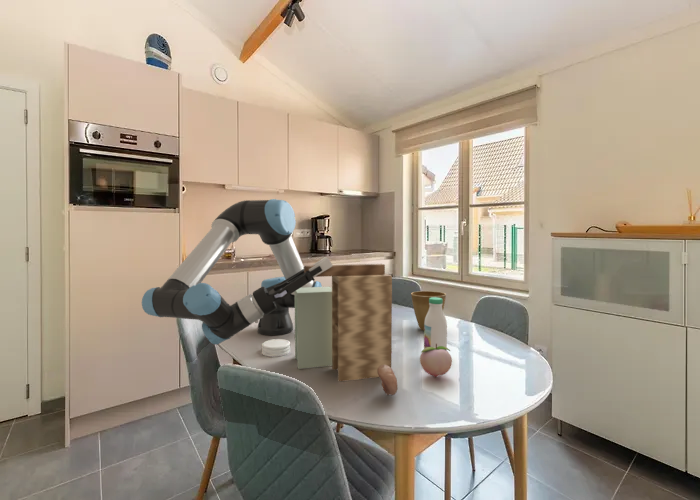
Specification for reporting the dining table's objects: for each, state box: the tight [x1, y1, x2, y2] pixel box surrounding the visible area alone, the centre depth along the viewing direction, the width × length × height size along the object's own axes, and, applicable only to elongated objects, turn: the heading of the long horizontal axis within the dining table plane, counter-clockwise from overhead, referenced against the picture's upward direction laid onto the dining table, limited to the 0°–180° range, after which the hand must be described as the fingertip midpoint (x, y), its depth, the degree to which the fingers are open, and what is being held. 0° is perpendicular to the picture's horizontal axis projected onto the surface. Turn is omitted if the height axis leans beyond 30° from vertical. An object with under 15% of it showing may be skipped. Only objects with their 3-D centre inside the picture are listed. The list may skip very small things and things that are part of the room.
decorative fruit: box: [419, 344, 453, 378], centre depth 101 cm, size 9×8×10 cm
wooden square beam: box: [304, 263, 386, 278], centre depth 102 cm, size 24×3×3 cm, turn 104°
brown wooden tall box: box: [331, 273, 393, 382], centre depth 104 cm, size 16×10×30 cm, turn 104°
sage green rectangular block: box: [294, 286, 332, 370], centre depth 113 cm, size 12×10×24 cm
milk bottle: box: [423, 297, 448, 349], centre depth 119 cm, size 8×8×20 cm
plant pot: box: [410, 290, 447, 332], centre depth 151 cm, size 15×15×16 cm
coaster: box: [261, 338, 291, 358], centre depth 123 cm, size 10×10×4 cm
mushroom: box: [377, 365, 399, 396], centre depth 89 cm, size 8×6×8 cm
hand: (329, 261), depth 101 cm, fingers closed on wooden square beam, 3 cm apart
